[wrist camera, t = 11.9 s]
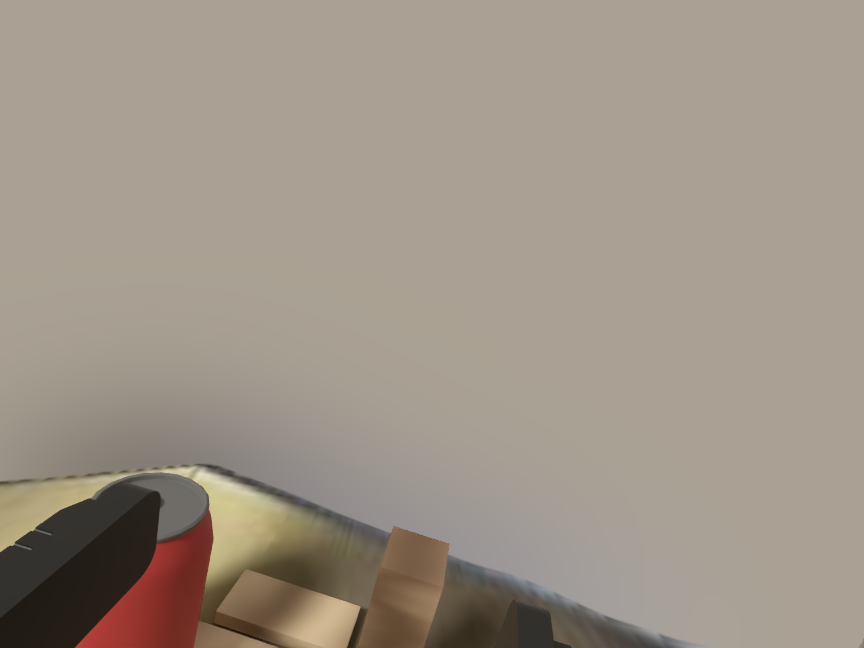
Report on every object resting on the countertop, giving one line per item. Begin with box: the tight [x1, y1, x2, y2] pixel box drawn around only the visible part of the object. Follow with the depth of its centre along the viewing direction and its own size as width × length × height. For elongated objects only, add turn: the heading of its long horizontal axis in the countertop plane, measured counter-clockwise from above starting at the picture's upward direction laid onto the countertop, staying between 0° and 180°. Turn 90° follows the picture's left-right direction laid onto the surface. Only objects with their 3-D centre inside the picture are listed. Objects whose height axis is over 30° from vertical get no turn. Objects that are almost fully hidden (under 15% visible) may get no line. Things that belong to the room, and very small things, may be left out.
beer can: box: [75, 473, 213, 648], centre depth 27 cm, size 7×7×12 cm
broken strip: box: [214, 569, 360, 648], centre depth 35 cm, size 22×4×1 cm, turn 82°
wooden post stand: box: [194, 527, 449, 648], centre depth 26 cm, size 22×8×14 cm, turn 82°
